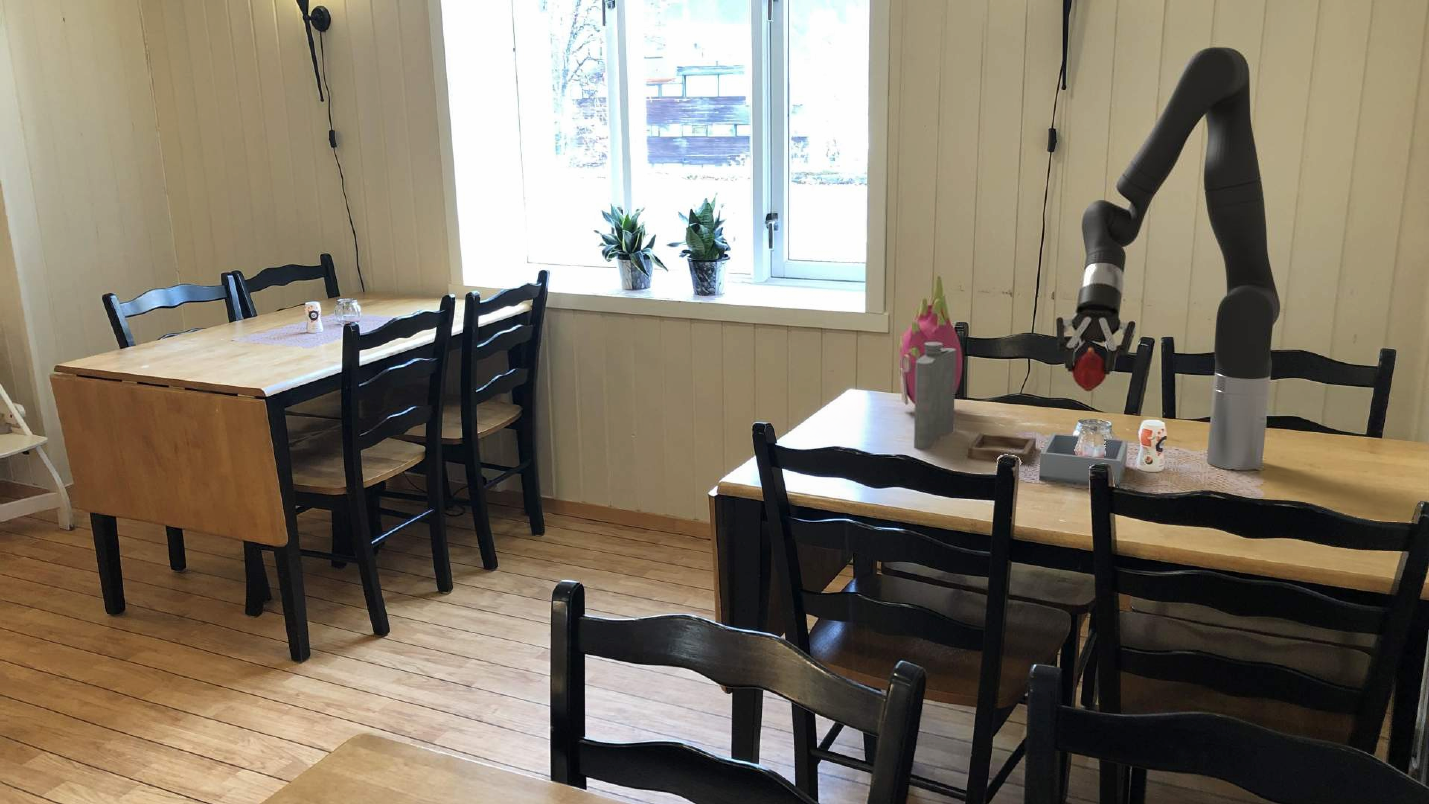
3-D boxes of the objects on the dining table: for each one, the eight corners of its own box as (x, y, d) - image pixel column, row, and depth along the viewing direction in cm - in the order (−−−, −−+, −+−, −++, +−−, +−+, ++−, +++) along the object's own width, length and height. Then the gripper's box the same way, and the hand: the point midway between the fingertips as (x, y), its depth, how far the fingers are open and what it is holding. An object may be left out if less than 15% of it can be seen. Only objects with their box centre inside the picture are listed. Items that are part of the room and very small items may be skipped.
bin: (1125, 465, 205) (1127, 440, 204) (1118, 488, 193) (1120, 461, 192) (1050, 458, 210) (1051, 433, 209) (1039, 479, 198) (1040, 453, 197)
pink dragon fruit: (886, 403, 253) (888, 273, 246) (943, 399, 255) (946, 270, 248) (913, 423, 236) (915, 284, 229) (973, 419, 238) (977, 281, 231)
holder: (1035, 448, 217) (1035, 438, 216) (1025, 464, 207) (1026, 454, 207) (979, 442, 221) (979, 433, 221) (967, 458, 212) (967, 448, 211)
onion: (1107, 395, 195) (1110, 351, 192) (1073, 395, 196) (1075, 351, 194) (1102, 387, 200) (1105, 344, 198) (1069, 387, 201) (1072, 344, 199)
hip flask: (926, 450, 217) (928, 351, 212) (907, 447, 220) (909, 349, 214) (955, 430, 230) (958, 336, 225) (937, 428, 232) (939, 335, 227)
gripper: (1058, 280, 203) (1045, 356, 195) (1141, 283, 197) (1131, 362, 189) (1061, 303, 209) (1048, 378, 201) (1142, 307, 203) (1131, 385, 195)
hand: (1088, 370), depth 195 cm, fingers closed on onion, 5 cm apart
